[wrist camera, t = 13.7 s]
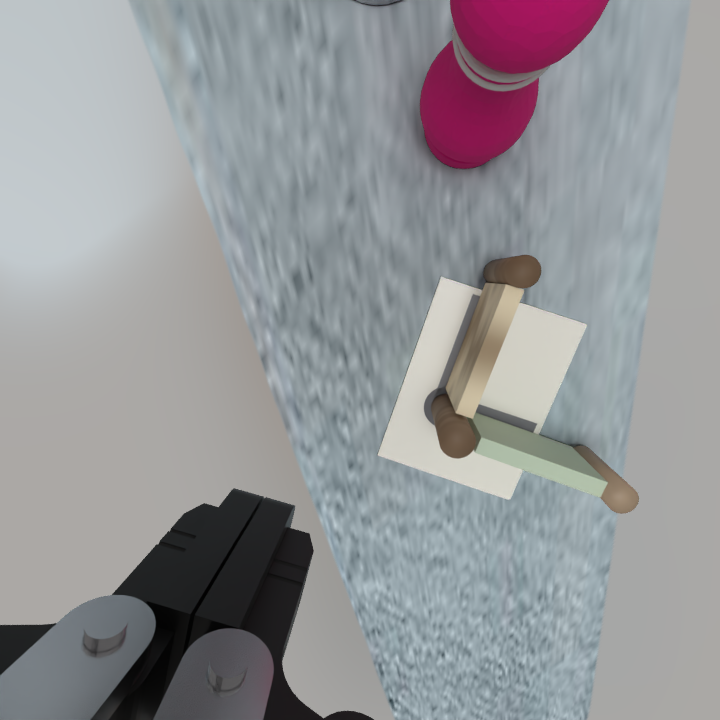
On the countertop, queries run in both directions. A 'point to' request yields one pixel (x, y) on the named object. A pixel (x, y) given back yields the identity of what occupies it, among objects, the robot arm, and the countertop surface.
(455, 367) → the fence fixed
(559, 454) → the fence gate
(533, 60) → the pepper mill
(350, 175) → the countertop surface
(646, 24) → the countertop surface
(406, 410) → the card
